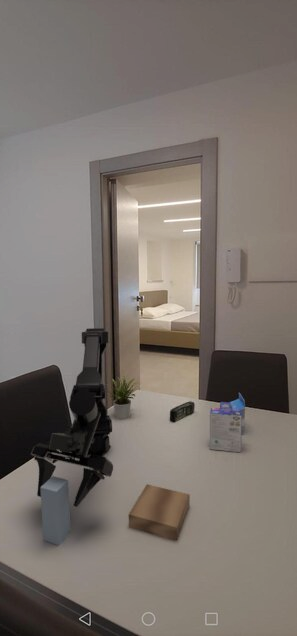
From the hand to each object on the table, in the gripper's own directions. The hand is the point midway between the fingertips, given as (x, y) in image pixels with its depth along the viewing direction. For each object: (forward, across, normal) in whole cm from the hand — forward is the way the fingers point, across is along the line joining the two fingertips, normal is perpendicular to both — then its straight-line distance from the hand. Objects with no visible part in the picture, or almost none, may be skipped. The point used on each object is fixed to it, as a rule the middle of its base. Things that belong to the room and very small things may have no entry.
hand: (56, 501), depth 68 cm
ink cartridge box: (-29, +29, +40) cm, 57 cm away
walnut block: (-3, +19, +15) cm, 24 cm away
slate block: (+6, 0, +5) cm, 8 cm away
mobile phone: (-42, +10, +53) cm, 68 cm away
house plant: (-36, -11, +47) cm, 60 cm away
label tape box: (-39, +31, +50) cm, 70 cm away
